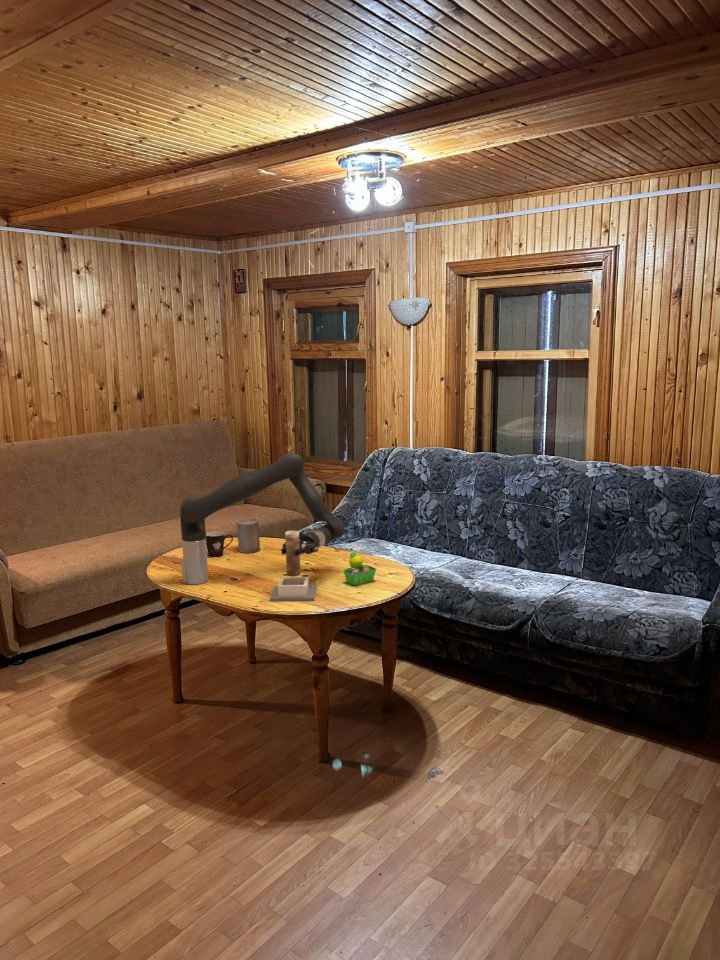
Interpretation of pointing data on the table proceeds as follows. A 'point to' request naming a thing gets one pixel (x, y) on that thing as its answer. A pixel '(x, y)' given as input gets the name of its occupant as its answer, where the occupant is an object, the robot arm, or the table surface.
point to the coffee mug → (216, 543)
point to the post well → (293, 590)
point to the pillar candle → (248, 535)
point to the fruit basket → (358, 571)
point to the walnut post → (292, 553)
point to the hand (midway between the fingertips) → (289, 552)
